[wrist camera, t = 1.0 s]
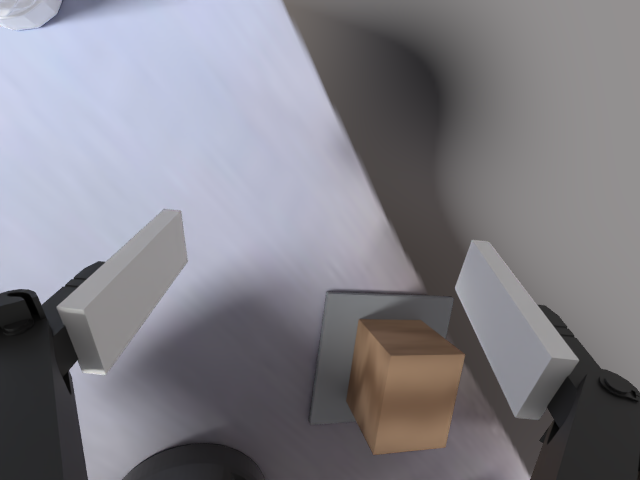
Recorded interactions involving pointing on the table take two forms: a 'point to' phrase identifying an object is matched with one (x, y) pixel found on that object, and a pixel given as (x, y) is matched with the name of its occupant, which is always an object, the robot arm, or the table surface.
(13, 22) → the white cup
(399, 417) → the walnut block
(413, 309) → the rubber mat
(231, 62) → the table surface
